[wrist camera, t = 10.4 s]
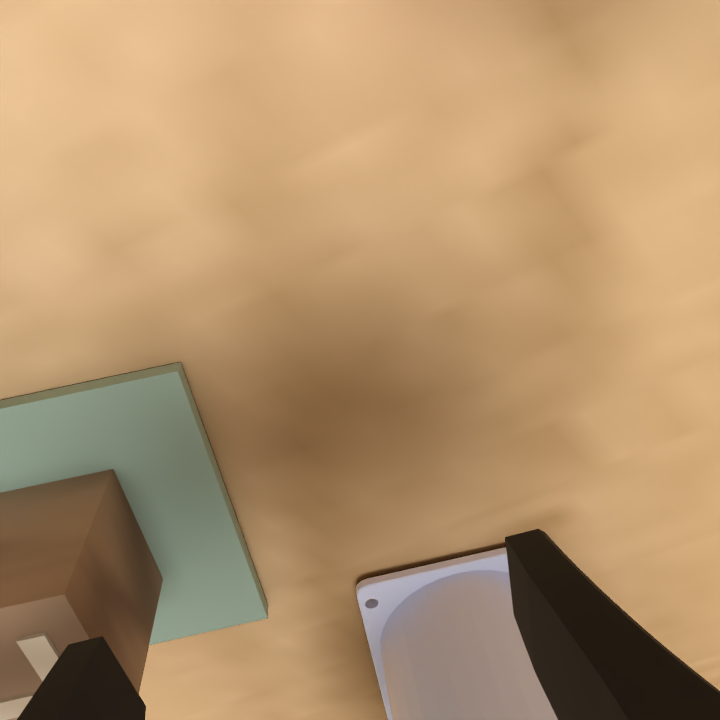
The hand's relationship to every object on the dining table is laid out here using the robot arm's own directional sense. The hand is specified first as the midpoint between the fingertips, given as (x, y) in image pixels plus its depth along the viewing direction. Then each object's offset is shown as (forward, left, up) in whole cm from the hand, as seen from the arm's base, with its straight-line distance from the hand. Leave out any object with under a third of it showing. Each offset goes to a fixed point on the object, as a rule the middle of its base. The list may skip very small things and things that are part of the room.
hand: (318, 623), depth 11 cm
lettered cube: (-4, +9, -9) cm, 13 cm away
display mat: (-4, +9, -9) cm, 14 cm away
